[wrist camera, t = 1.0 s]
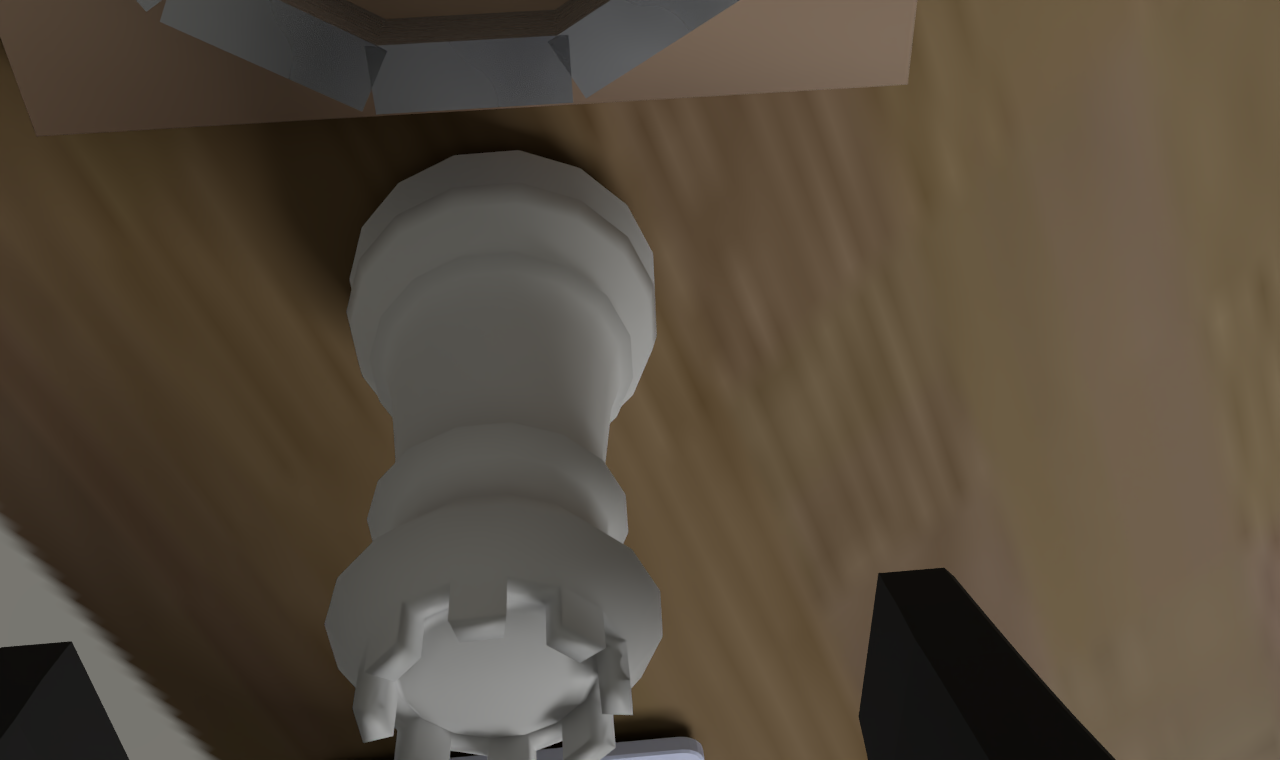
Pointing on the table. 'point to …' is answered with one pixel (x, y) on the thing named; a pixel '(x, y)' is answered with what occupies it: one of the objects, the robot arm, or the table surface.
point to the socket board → (426, 55)
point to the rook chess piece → (498, 464)
